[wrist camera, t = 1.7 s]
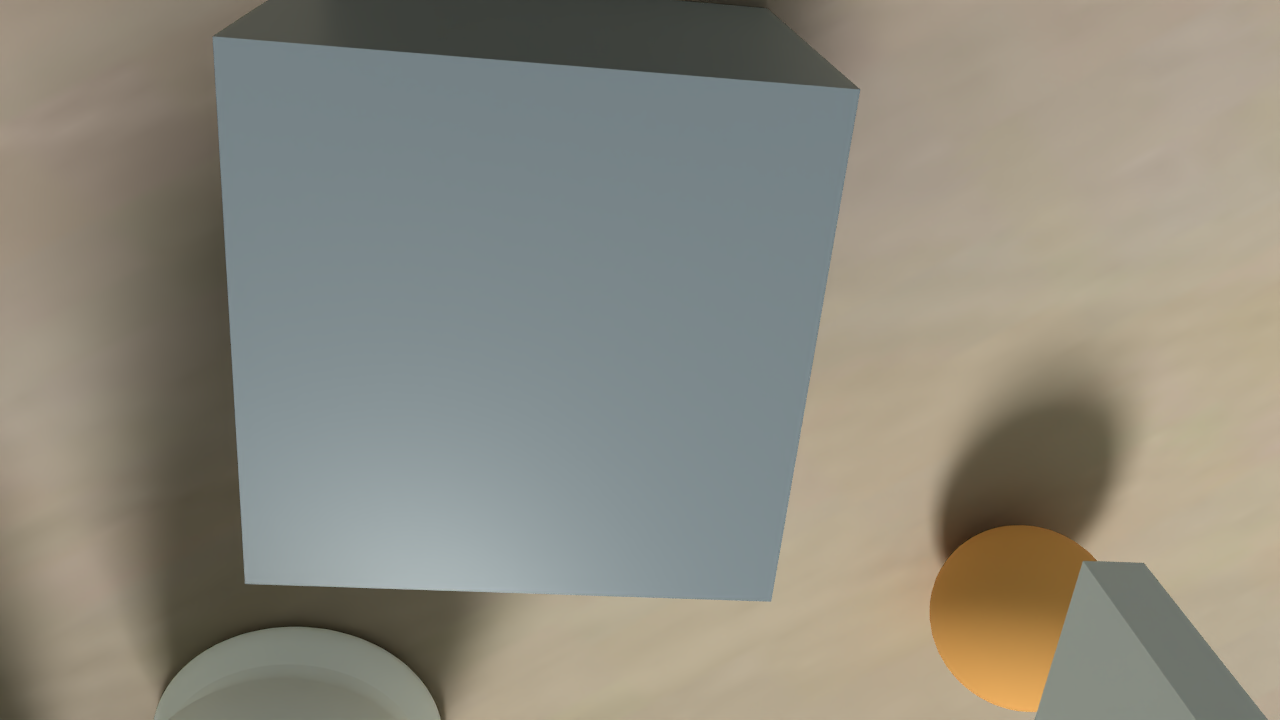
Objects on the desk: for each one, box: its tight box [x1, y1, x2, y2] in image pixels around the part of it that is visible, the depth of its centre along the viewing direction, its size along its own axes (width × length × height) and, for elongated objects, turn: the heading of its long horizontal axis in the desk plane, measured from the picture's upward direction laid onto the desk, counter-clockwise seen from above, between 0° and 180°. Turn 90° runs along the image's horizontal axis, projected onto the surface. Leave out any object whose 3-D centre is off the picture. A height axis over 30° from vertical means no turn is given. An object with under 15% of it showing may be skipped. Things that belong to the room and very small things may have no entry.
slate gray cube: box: [213, 0, 860, 601], centre depth 24 cm, size 10×10×9 cm
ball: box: [930, 525, 1097, 712], centre depth 32 cm, size 5×5×5 cm
